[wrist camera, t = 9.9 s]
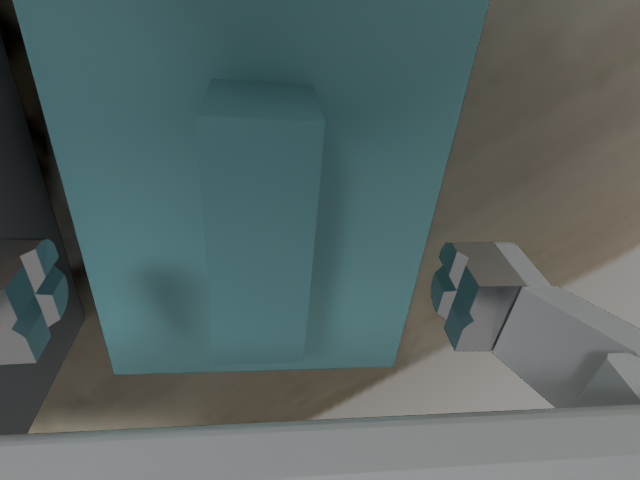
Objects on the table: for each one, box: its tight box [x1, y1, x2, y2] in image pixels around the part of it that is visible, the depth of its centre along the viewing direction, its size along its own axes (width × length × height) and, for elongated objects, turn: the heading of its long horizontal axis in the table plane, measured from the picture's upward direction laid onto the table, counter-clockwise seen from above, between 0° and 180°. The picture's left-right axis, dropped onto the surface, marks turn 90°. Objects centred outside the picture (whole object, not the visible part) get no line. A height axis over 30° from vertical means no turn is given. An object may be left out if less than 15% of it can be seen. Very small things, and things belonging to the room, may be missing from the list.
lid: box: [13, 0, 490, 375], centre depth 13 cm, size 15×11×6 cm
